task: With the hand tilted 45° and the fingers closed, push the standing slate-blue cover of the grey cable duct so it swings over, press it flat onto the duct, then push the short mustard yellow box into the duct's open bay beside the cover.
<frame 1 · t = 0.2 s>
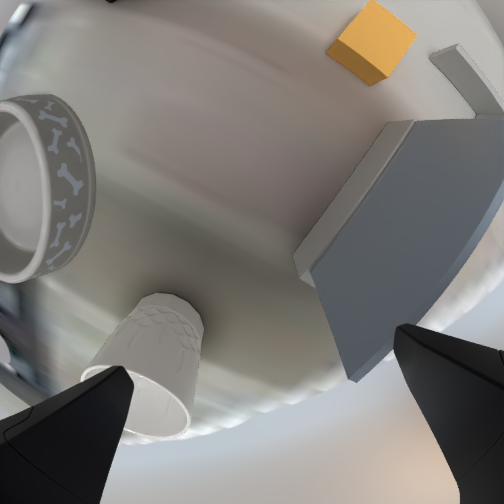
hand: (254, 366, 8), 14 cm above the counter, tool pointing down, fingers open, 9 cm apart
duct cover: (405, 215, 11), point 9 cm above the counter, hinge at -90.0°
white cup: (168, 322, 24), on the counter
dog bowl: (28, 184, 20), on the counter
mustard yellow box: (363, 49, 16), on the counter
duct: (407, 173, 19), on the counter
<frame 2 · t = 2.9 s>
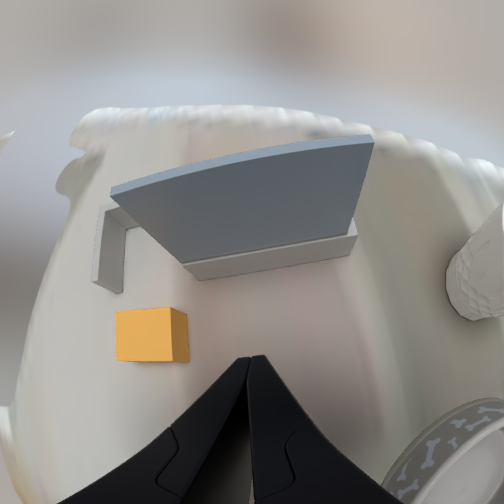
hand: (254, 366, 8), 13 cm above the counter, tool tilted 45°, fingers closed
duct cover: (252, 213, 15), point 9 cm above the counter, hinge at -90.0°
white cup: (471, 285, 20), on the counter
dog bowl: (456, 484, 13), on the counter
mustard yellow box: (162, 339, 23), on the counter
duct: (218, 236, 25), on the counter
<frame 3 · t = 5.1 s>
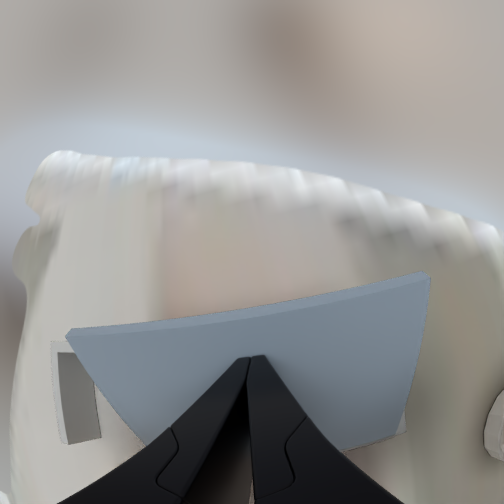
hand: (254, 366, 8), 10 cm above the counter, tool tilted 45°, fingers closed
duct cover: (258, 412, 9), point 7 cm above the counter, hinge at -44.1°, touching gripper
duct: (212, 394, 16), on the counter
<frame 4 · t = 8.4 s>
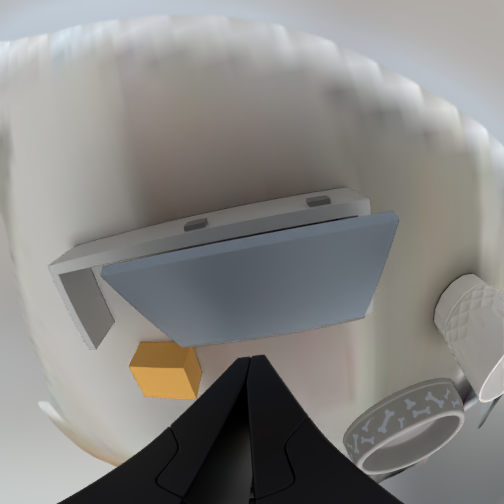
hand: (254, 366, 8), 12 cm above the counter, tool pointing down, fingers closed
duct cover: (260, 301, 14), point 7 cm above the counter, hinge at -30.9°
white cup: (458, 302, 22), on the counter
dog bowl: (402, 419, 30), on the counter
mustard yellow box: (171, 357, 24), on the counter
duct: (206, 265, 20), on the counter
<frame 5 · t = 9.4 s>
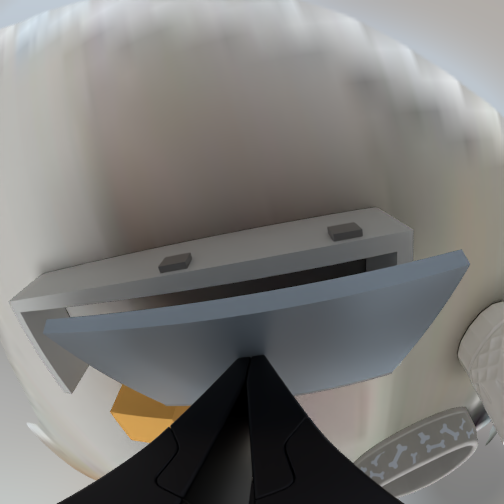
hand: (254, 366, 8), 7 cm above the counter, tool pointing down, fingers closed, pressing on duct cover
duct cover: (262, 369, 9), point 6 cm above the counter, hinge at -26.8°, touching gripper
white cup: (483, 332, 17), on the counter
dog bowl: (412, 447, 25), on the counter
mustard yellow box: (159, 398, 20), on the counter
duct: (194, 304, 16), on the counter
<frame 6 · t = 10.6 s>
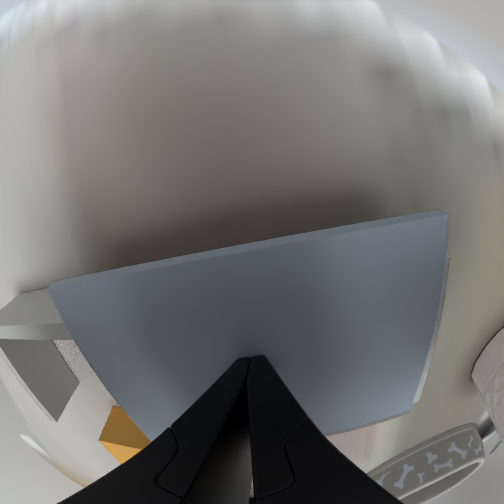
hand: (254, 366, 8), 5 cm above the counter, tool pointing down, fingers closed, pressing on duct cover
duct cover: (260, 379, 9), point 4 cm above the counter, hinge at -1.6°, touching gripper
white cup: (498, 350, 15), on the counter
dog bowl: (417, 463, 23), on the counter
mustard yellow box: (151, 423, 17), on the counter
duct: (184, 334, 13), on the counter
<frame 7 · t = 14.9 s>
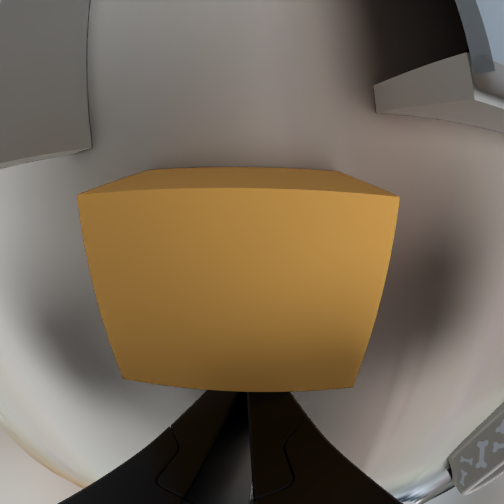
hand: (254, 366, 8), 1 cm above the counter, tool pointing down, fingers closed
mustard yellow box: (242, 240, 8), on the counter, touching gripper
duct: (412, 10, 5), on the counter
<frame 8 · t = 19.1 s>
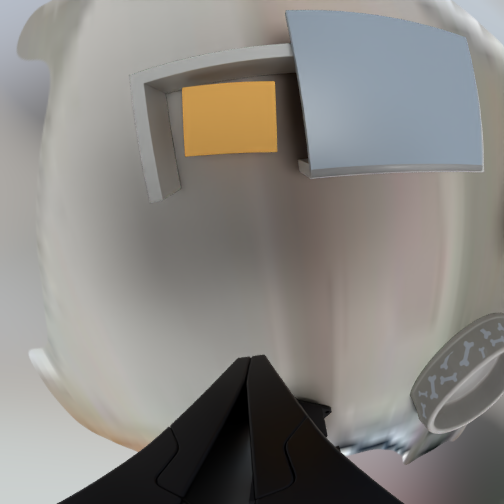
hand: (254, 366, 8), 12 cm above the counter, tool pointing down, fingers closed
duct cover: (404, 90, 12), point 4 cm above the counter, hinge at -1.6°
dog bowl: (463, 367, 27), on the counter
mustard yellow box: (233, 122, 17), on the counter
duct: (321, 113, 16), on the counter
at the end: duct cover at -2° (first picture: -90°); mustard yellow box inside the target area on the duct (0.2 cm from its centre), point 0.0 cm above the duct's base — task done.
